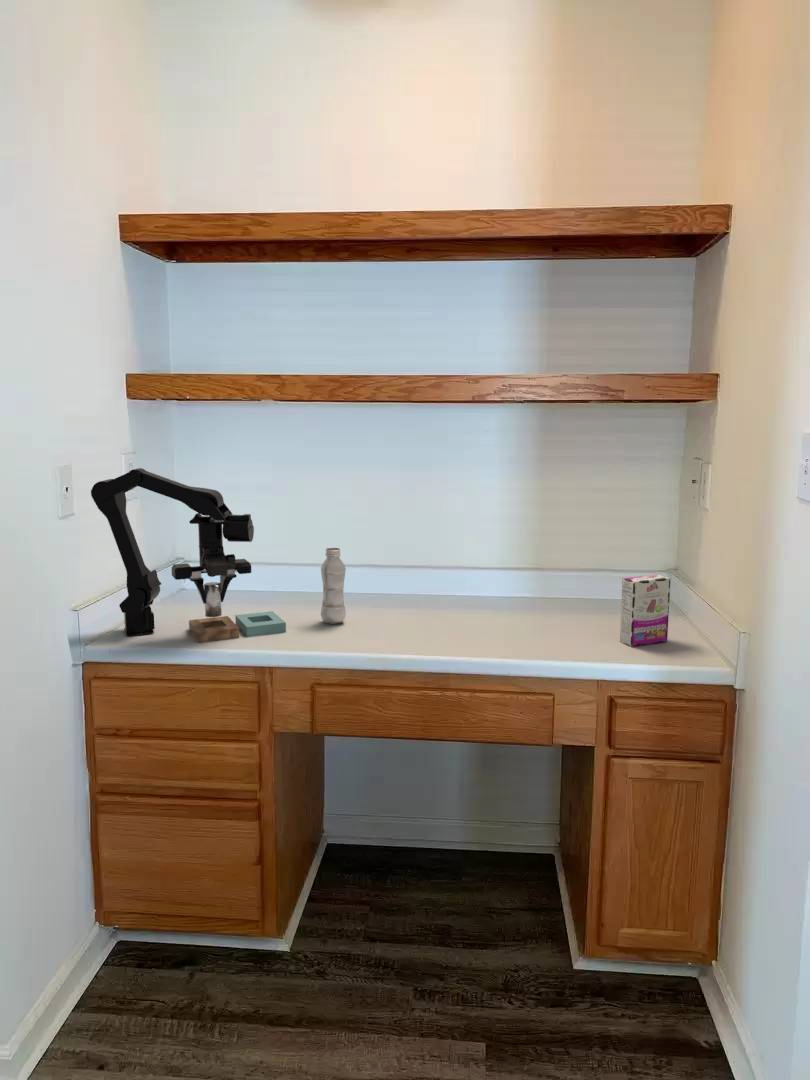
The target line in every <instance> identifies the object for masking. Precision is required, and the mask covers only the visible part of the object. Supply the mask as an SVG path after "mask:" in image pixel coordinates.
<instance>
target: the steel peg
mask: <svg viewBox="0 0 810 1080" xmlns="http://www.w3.org/2000/svg"><path fill="white" fill-rule="evenodd" d="M203 585H204V591H205V598H206V603H205V604H204V610H205V611H204V612H205V617H206V618H214V617H222V615H223V614H222V613H223V611H222V602H221V583H220V582H217V581H216V582H213V581H212V582H205V583H203Z"/></svg>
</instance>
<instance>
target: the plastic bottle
mask: <svg viewBox="0 0 810 1080" xmlns="http://www.w3.org/2000/svg"><path fill="white" fill-rule="evenodd" d="M325 557H326V559H325V560H324V561H323V562H322V564H321V567H320V573H321V580H322V602H321V604H322V605H321V609H320V617H321V618H320V619H321V620H322V622H323V623H325V624H332V623H334V624H340V623H343V622H344V620H345V619H346V613H347V611H346V605H345V597H344V588H345V587H344V586H345V578H346V577H345V576H346V569H347V568H346V565H345V563H344V562H343V561H342V559H341V548H338V547H326V549H325Z"/></svg>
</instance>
